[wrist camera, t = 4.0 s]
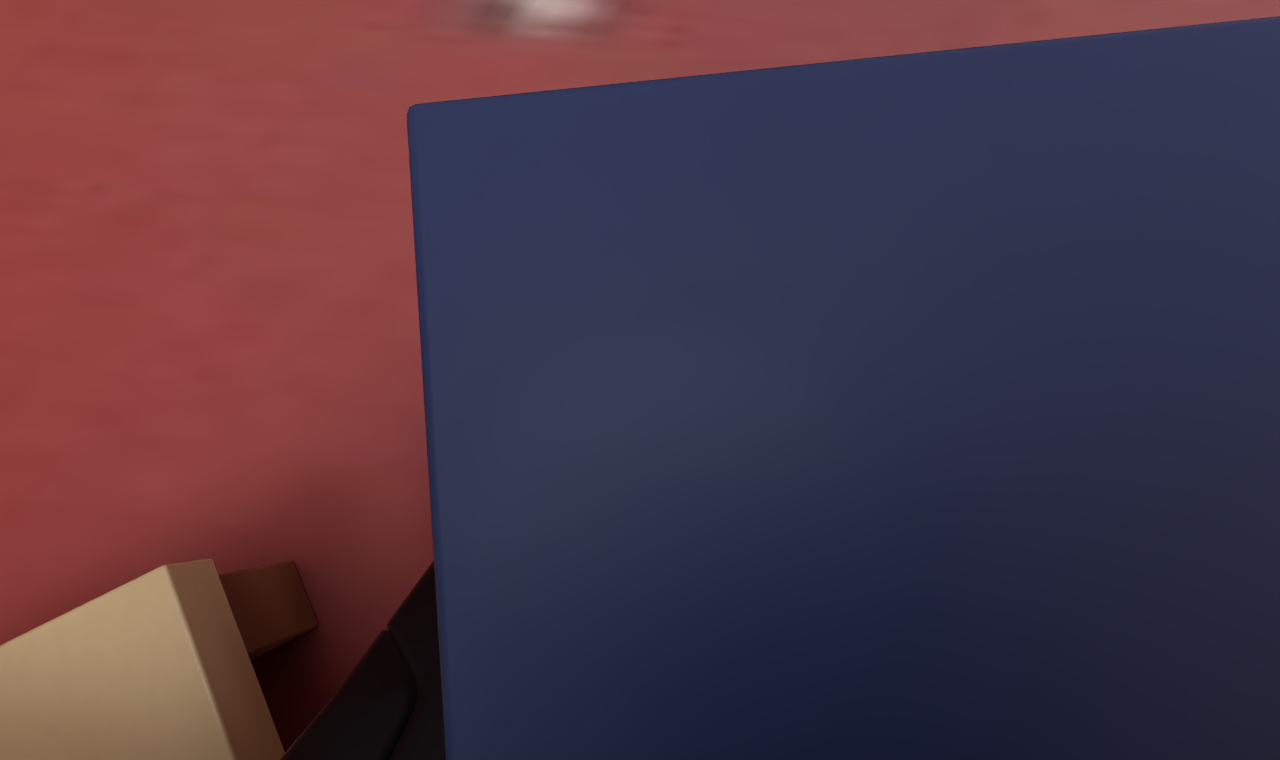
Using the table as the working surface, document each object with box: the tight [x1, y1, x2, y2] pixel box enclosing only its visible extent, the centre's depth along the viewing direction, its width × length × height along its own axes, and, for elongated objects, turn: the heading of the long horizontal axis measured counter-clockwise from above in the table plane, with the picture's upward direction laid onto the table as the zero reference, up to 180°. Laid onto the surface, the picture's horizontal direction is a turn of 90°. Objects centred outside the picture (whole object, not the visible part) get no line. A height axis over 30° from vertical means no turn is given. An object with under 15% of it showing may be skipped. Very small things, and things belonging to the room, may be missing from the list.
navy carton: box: [407, 16, 1280, 760], centre depth 9 cm, size 5×6×12 cm
